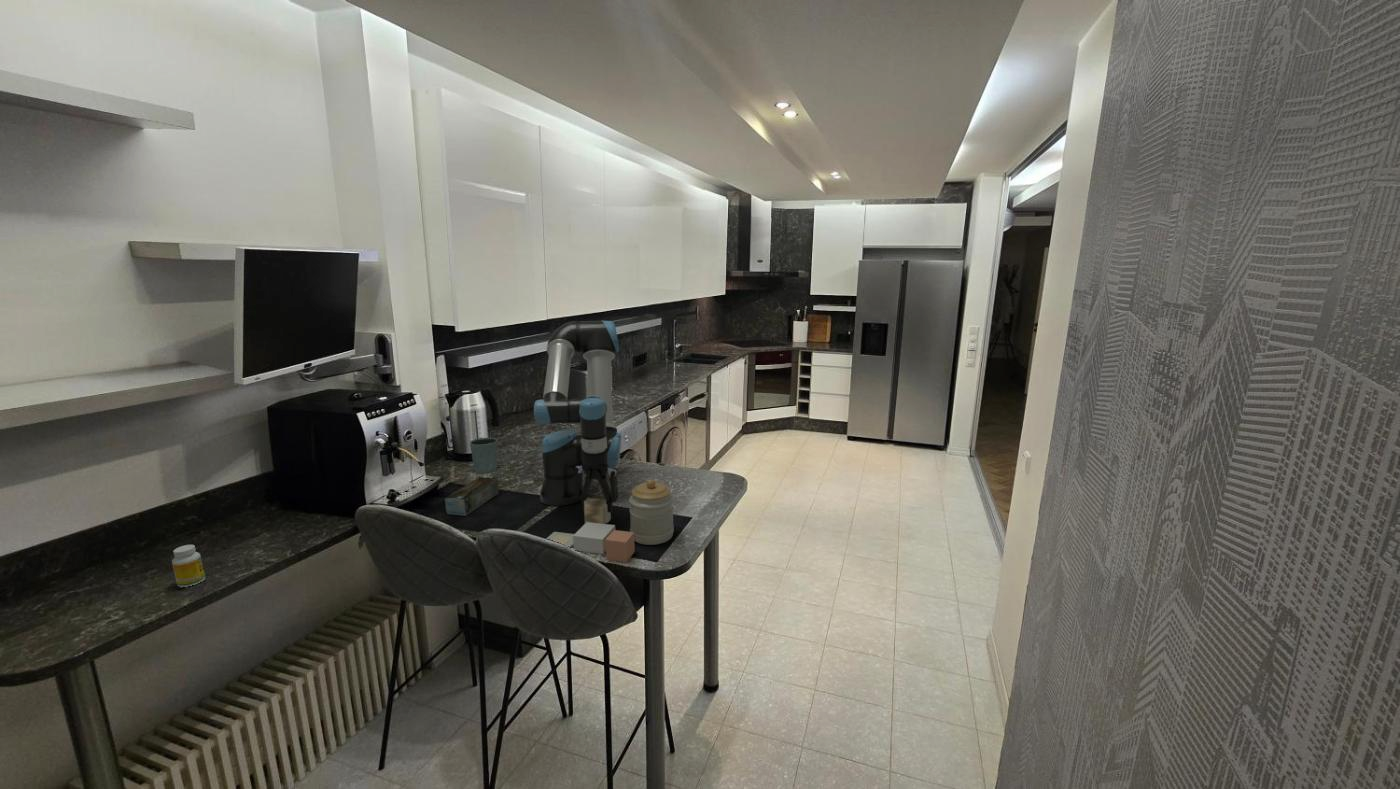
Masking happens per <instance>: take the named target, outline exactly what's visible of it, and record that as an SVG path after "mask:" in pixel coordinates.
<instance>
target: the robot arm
mask: <svg viewBox="0 0 1400 789" xmlns="http://www.w3.org/2000/svg"><path fill="white" fill-rule="evenodd" d="M616 328H617V327H616V324H615V323H614V321H611V320H603V319H602V320H572V321H567V322H566V323H564V324H562V325H560V326H559V327H558V328H556V329H555V330H554V331H553V332H552V334H551V335H550V337H549V339H548V341H547V346H546V352H547V355H548V360H547V368H546V373H545V374H546V375H545V381H544V388H543V395H542V399H537V400H535V402H534V403H533V404H534V405H533V416H534V421H535V422H536V423H537V424H540V425H541V424H542V425H552V424H572V423H573V424H574V423H575V424H576V423H579V424H580V434H578V433H577V431H576V430H574V429H562V430H558V431H554V432H551V433H549V434H547V435H546V436H544V437H543V438H542V441H541V454H542V464H543V465H542V466H543V481H542V485H541V487H540V492H539V493H540V494H539V497H540V502H541V503H542V504H544V505H547V506H553V507H554V506H555V507H560V506H561V507H562V506H568V505H572V504H576V503H579V502H580V501H581V509H582V510H584V506H585V505H586V504H587V503H588V502H589V501H590V500H591V497H589V496H590V495H589V492H590V488H591V485H592V481H593V480H596V481H598V484H599V485H600V487H601V491H602V492H603V496H604V500H606V502H605V503H604V507H605V523H606V524H608V523H609V522H610V521H611V519H612V516H611V515H612V514H611V513H612V512H613V510H614V503H615V502H616V501H617V500H619V487H618V480H617V475H618V469H617V468H614V467H617V466H618V464H619V462H620V455H621V449H622V448H621V447H622V434H621V432H618V428H617V426H615V425H614V423H613V420H614V419H613V389H612V388H613V386H612V384H613V383H612V382H613V381H612V361H613V360H614V359H615V358H616V353H619V351H620V349H619V348H620V347H619V339H618V334H617V333H618V332H617V329H616ZM575 354H582V357H583V359H584V360H586V368H587V370H586V371H587V374H586V375H587V376H586V378H587V379H586V380H587V382H586V383H587V388H586V389H587V397H586V398H585V397H583V398H568V394H569V385H570V384H569V383H570V373H571V362H572V358H573V356H574V355H575ZM583 472H584V474H585V478H584V484H583ZM607 473H608V477H609V482H608V478H607Z"/></svg>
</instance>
